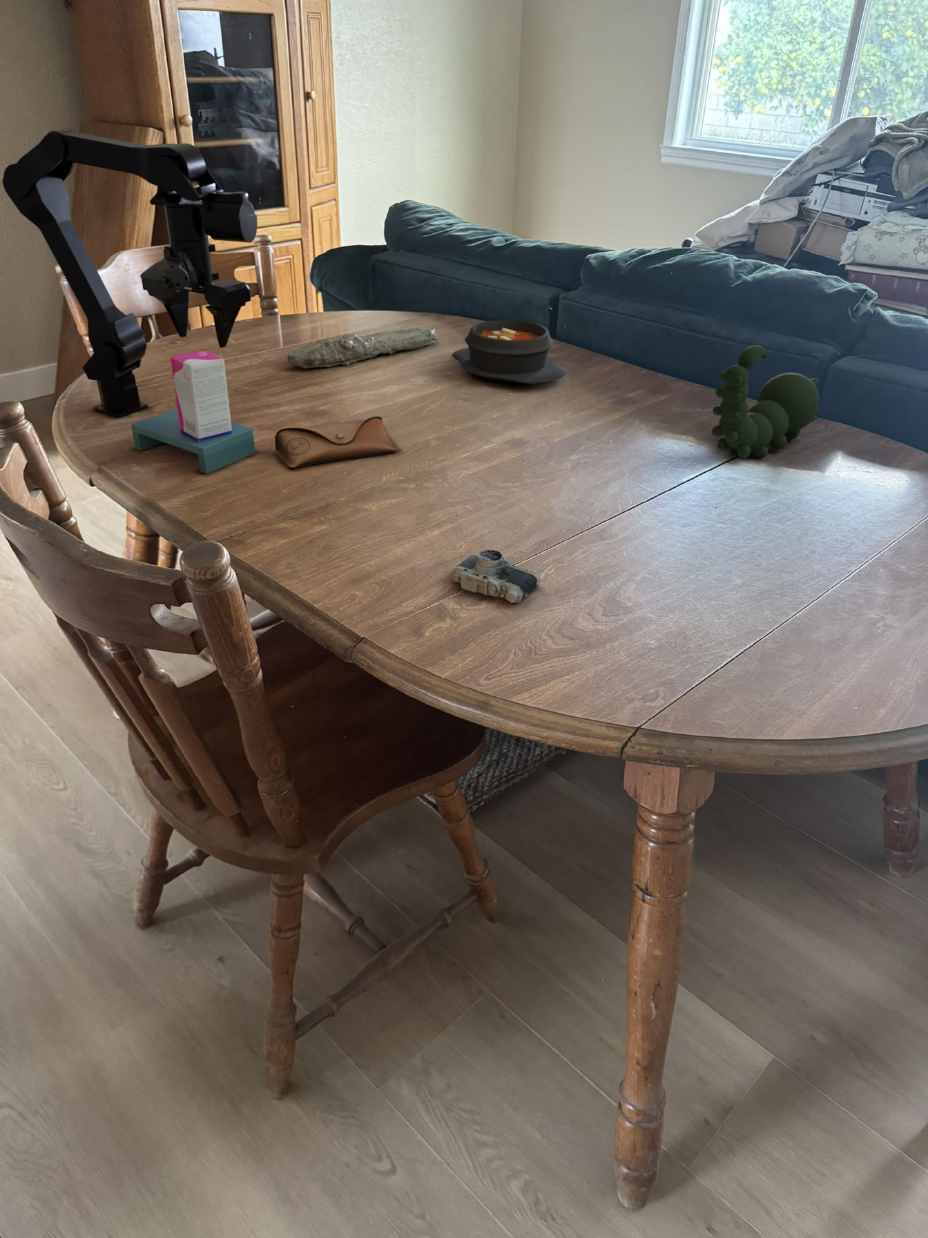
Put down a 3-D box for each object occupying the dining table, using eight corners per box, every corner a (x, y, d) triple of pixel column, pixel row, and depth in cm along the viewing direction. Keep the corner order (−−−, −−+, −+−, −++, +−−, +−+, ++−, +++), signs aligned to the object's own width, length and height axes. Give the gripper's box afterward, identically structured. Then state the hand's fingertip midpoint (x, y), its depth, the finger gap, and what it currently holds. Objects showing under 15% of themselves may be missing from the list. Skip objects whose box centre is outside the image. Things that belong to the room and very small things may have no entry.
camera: (520, 610, 104) (522, 578, 102) (446, 583, 109) (446, 553, 107) (541, 591, 108) (544, 560, 106) (469, 566, 113) (469, 536, 110)
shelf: (135, 448, 141) (130, 424, 139) (185, 429, 148) (181, 406, 146) (206, 473, 134) (203, 448, 132) (255, 453, 141) (253, 428, 139)
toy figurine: (741, 483, 139) (833, 434, 152) (758, 363, 128) (857, 320, 141) (692, 464, 145) (785, 417, 158) (704, 348, 134) (803, 307, 147)
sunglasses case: (290, 468, 135) (281, 423, 134) (281, 475, 141) (271, 433, 141) (402, 450, 142) (393, 407, 141) (388, 458, 148) (379, 417, 148)
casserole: (587, 379, 175) (591, 335, 170) (518, 400, 164) (520, 353, 160) (498, 349, 190) (500, 308, 186) (430, 366, 180) (430, 323, 175)
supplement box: (234, 433, 137) (225, 357, 131) (199, 443, 133) (188, 365, 127) (213, 422, 140) (204, 348, 134) (179, 432, 137) (167, 356, 131)
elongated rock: (448, 352, 192) (420, 344, 198) (449, 326, 189) (420, 318, 196) (304, 374, 172) (277, 363, 178) (302, 345, 169) (276, 336, 176)
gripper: (104, 237, 136) (123, 342, 144) (189, 254, 127) (204, 365, 136) (163, 227, 144) (178, 327, 152) (247, 242, 135) (258, 348, 143)
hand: (202, 341), depth 146 cm, fingers open, 9 cm apart
